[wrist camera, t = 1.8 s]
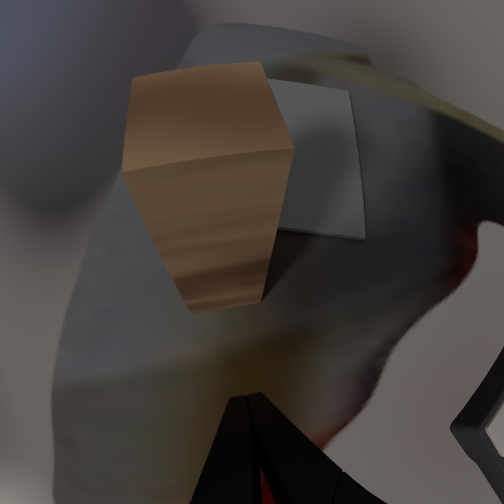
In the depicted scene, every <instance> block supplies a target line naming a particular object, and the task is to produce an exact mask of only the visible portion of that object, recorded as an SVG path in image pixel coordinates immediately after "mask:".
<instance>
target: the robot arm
mask: <svg viewBox="0 0 504 504" xmlns="http://www.w3.org/2000/svg"><path fill="white" fill-rule="evenodd" d="M259 463H260V465H259ZM260 467H261V470H262V473H263V476H264V478H265V481H266V484H267V486H268V489H269V491H270V494H271V496H272V499H273V501H274V504H387V503H385V502H384V501H382V500H380V499H379V498H378V497H376V496H375V495H373V494H371V493H370V492H369V491H367V490H366V489H365V488H364V487H362V486H361V485H360V484H359V483H357V482H356V481H355V480H354V479H352V478H351V477H350V476H349V475H348V474H347V473H346V472H342V469H341V468H340V467H339V466H338V465H336V464H335V463H334V462H333V461H332V460H331V459H330V458H329V457H328V456H327V455H326V454H324V453H323V452H322V451H321V450H320V449H319V448H318V447H317V446H316V445H315V444H314V443H313V442H312V441H311V440H309V439H308V438H307V437H306V436H305V435H304V434H303V433H302V432H301V431H300V430H299V429H298V428H297V427H296V426H295V425H294V424H293V423H292V422H291V421H290V420H289V419H288V418H287V417H286V416H285V415H284V414H283V413H282V412H281V411H280V410H279V409H278V408H277V407H276V406H275V405H274V404H273V403H272V402H271V401H270V400H269V399H268V398H267V397H266V396H265V395H264V394H263V393H262V392H257V393H251V394H247V396H245V395H239V396H233V397H230V398H229V400H228V403H227V405H226V408H225V411H224V414H223V416H222V419H221V422H220V425H219V427H218V430H217V433H216V435H215V438H214V441H213V443H212V446H211V449H210V451H209V454H208V457H207V459H206V462H205V465H204V467H203V470H202V473H201V475H200V478H199V480H198V483H197V486H196V488H195V491H194V493H193V496H192V500H193V501H190V503H189V504H263V496H262V483H261V471H260Z"/></svg>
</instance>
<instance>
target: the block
mask: <svg viewBox="0 0 504 504" xmlns="http://www.w3.org/2000/svg"><path fill="white" fill-rule="evenodd" d="M123 152H124V153H123V163H122V174H123V176H124V178H125V180H126V183H127V185H128V187H129V189H130V192H131V194H132V196H133V198H134V201H135V203H136V205H137V207H138V209H139V211H140V214H141V216H142V218H143V220H144V222H145V224H146V226H147V228H148V230H149V232H150V235H151V237H152V239H153V241H154V243H155V245H156V247H157V249H158V251H159V253H160V255H161V257H162V259H163V261H164V263H165V265H166V267H167V269H168V271H169V273H170V274H171V276H172V278H173V280H174V282H175V284H176V286H177V288H178V290H179V292H180V294H181V295H182V297H183V299H184V301H185V303H186V305H187V307H188V308H189V310H190V312H191V314H192V313H199V312H206V311H212V310H219V309H225V308H232V307H238V306H244V305H250V304H256V303H261V299H262V294H263V290H264V286H265V281H266V277H267V272H268V268H269V263H270V259H271V255H272V250H273V246H274V241H275V237H276V232H277V227H278V223H279V218H280V214H281V209H282V204H283V200H284V195H285V190H286V186H287V181H288V176H289V172H290V167H291V162H292V157H293V153H294V146H293V143H292V140H291V138H290V135H289V132H288V130H287V127H286V124H285V122H284V119H283V117H282V114H281V112H280V109H279V107H278V104H277V101H276V99H275V96H274V94H273V92H272V89H271V87H270V84H269V82H268V79H267V77H266V75H265V72H264V70H263V67H262V65H261V63H260V62H243V63H230V64H219V65H209V66H201V67H193V68H186V69H179V70H172V71H167V72H161V73H155V74H149V75H144V76H139V77H135V78H133V81H132V86H131V93H130V100H129V107H128V115H127V123H126V132H125V142H124V151H123Z"/></svg>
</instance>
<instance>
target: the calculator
mask: <svg viewBox="0 0 504 504" xmlns="http://www.w3.org/2000/svg"><path fill="white" fill-rule="evenodd" d="M450 431H451V433H452V434H453V436H454V437H455V439H456V440H457V441H458V443H459V444H460V446H461V447H462V449H463V450H464V452H465V453H466V454H467V456H468V457H470V458H471V459H472V460H473V461H474V462H476V463H477V465H478V466H479V468H480V469H481V471H482V472H483V474H484V475H485V477H486V479H487V480H488V482H489V483H490V485H491V486H492V488H493V490H494V491H495V493H496V494H497V496H498V497H499V499H500V501H501V503H502V504H504V347H503V349H502V350H501V352H500V354H499V355H498V357H497V359H496V361H495V362H494V364H493V365H492V367H491V368H490V370H489V372H488V373H487V375H486V376H485V378H484V379H483V381H482V382H481V384H480V385H479V387H478V388H477V390H476V391H475V392H474V394H473V395H472V397H471V398H470V399H469V401H468V402H467V404H466V405H465V406H464V408H463V409H462V410H461V412H460V413H459V414H458V415H457V417H456V418H455V419H454V421H453V422H452V423H451V425H450Z"/></svg>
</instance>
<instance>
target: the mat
mask: <svg viewBox="0 0 504 504" xmlns="http://www.w3.org/2000/svg"><path fill="white" fill-rule="evenodd" d="M268 82H269V84H270V87H271V89H272V92H273V94H274V96H275V99H276V101H277V104H278V107H279V109H280V112H281V114H282V117H283V119H284V122H285V124H286V127H287V130H288V132H289V135H290V138H291V140H292V143H293V146H294V153H293V157H292V162H291V167H290V172H289V176H288V181H287V186H286V190H285V195H284V200H283V204H282V209H281V214H280V218H279V223H278V227H277V230H285V231H293V232H301V233H309V234H317V235H325V236H332V237H340V238H347V239H354V240H362V241H365V239H366V228H365V214H364V202H363V191H362V181H361V172H360V163H359V155H358V147H357V140H356V133H355V126H354V119H353V113H352V107H351V101H350V96H349V92H348V91H343V90H338V89H333V88H327V87H322V86H316V85H310V84H303V83H296V82H289V81H281V80H273V79H268Z"/></svg>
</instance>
